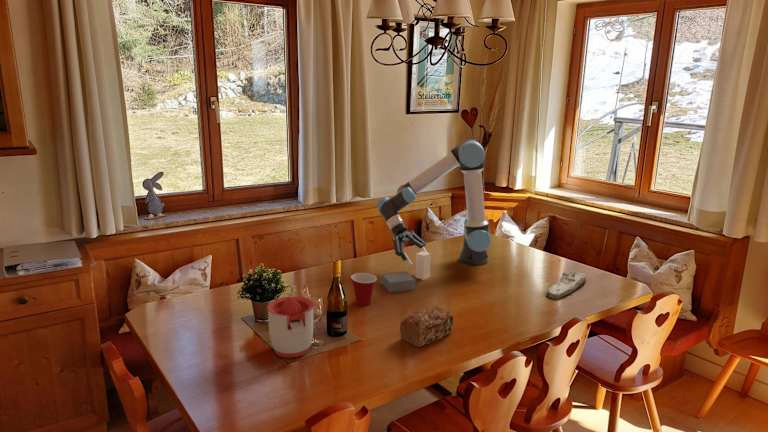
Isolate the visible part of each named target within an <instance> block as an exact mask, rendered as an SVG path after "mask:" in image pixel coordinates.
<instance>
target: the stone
mask: <svg viewBox="0 0 768 432" xmlns="http://www.w3.org/2000/svg"><path fill="white" fill-rule="evenodd" d="M586 279H587V277H586V274H584V273H583V272H578V271H577V272H574V271H563V273H562V277H561V278H560V279H559V281H557V282H555V283H554V284H552V285H551V286H549V287H548V288H547V289H546V292H545V295H547V297H548V298H549V297H550V298H549V299H551V298H552V299H551V300H560V299H561V298H564V297H565V296H568V295H569V294H572V292H574V291H576V290H577V289H578V288H579V287H581V286H582V285H583V284H584V282H585V281H586Z"/></svg>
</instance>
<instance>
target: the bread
mask: <svg viewBox="0 0 768 432" xmlns="http://www.w3.org/2000/svg"><path fill="white" fill-rule="evenodd" d="M453 327H454V316H453V314H452V313H451V312H450V311H448V310H446V309H445V308H442V307H440V306H438V305H437V306H433V307H427V308H422V309H419V310H416V311H415V312H412V313H410V314H409V315H407V316H405V317H404V318H403V319H401V321H400V325H399V330H400V337H401V339H402V340H403V341H405V342H406V343H409V344H411V345H413V346H414V347H416V348H419V347H423V346H424V345H428V344H430V343H432V342H434V341H437V340H439V339H442V338H443V337H445V336H447V335H449V334H451V333H452V331H453V330H452V329H453Z"/></svg>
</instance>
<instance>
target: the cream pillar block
mask: <svg viewBox="0 0 768 432" xmlns="http://www.w3.org/2000/svg"><path fill="white" fill-rule="evenodd" d="M431 255H432V253H430V252H428V251H427V252H423V251H422V252H421V251H420V252H417V253H416V254H415V272H414V273H415V274H414V275H415V279H420V280H423V281H424V280H428V279H429V278H431V264H432V263H431V261H432V259H431V258H432V256H431Z"/></svg>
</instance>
